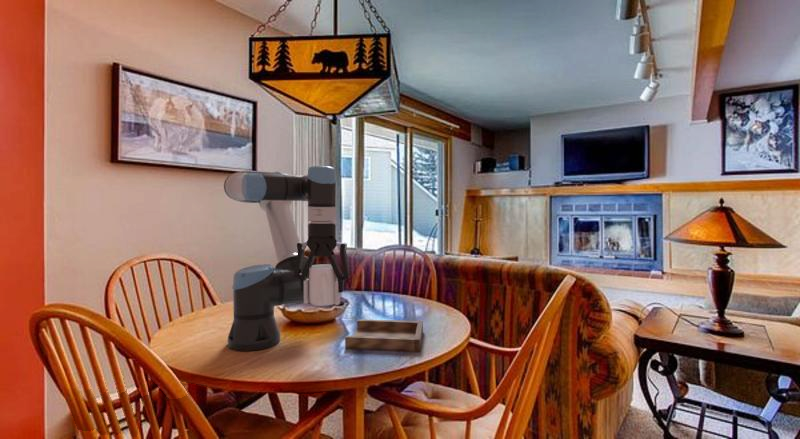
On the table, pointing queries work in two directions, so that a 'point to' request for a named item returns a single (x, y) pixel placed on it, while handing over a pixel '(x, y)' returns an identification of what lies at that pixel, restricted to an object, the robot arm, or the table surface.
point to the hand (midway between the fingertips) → (322, 303)
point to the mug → (322, 285)
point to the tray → (386, 335)
